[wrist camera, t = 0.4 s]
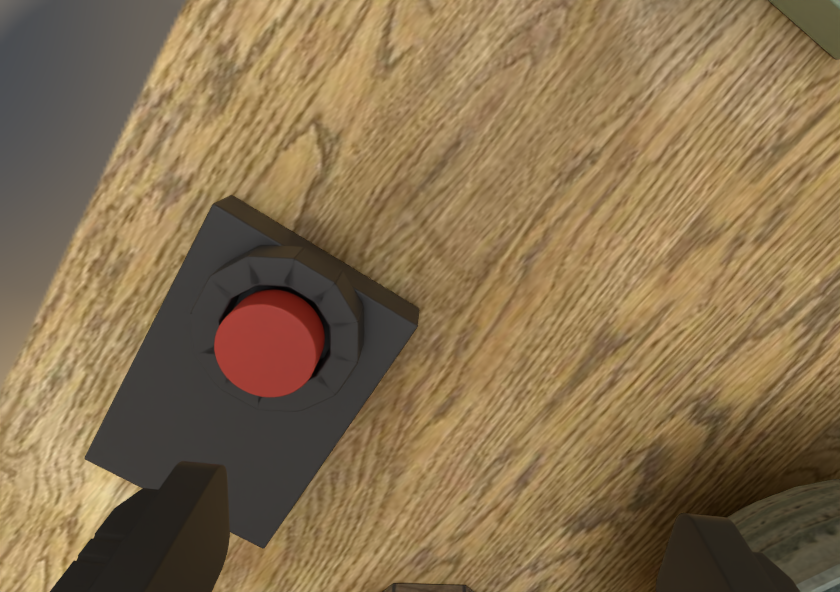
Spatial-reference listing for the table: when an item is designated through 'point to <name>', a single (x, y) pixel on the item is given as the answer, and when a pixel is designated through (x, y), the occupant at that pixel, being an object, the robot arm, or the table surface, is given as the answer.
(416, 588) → the mug
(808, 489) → the bowl
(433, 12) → the table surface
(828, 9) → the dial panel
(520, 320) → the table surface
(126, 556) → the robot arm
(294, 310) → the button
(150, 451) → the button box
